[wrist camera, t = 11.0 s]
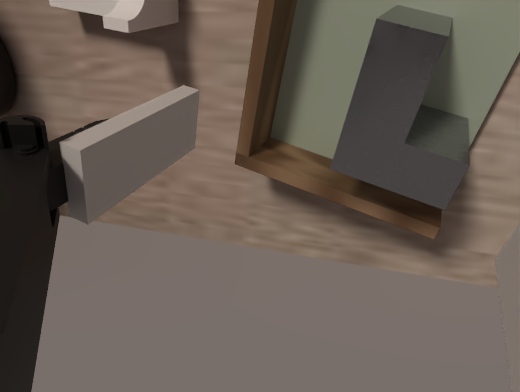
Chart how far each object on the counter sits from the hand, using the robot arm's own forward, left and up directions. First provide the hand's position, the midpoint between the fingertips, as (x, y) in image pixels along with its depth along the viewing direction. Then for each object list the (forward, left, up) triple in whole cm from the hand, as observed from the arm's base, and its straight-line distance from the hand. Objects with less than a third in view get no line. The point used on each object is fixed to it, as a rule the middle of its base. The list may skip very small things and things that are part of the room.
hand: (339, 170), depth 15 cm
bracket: (0, -1, -20) cm, 20 cm away
